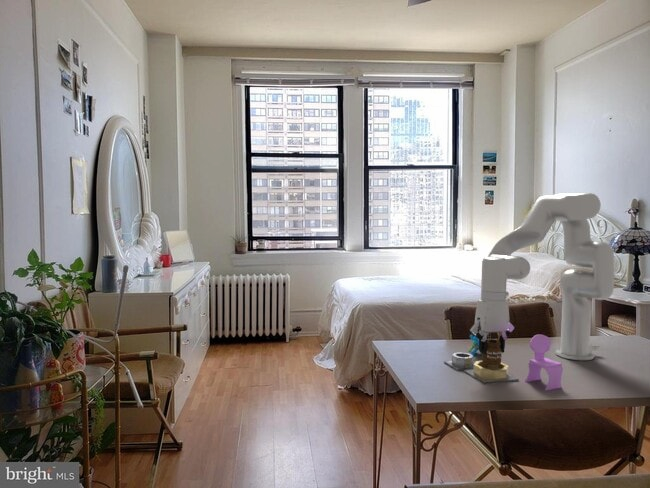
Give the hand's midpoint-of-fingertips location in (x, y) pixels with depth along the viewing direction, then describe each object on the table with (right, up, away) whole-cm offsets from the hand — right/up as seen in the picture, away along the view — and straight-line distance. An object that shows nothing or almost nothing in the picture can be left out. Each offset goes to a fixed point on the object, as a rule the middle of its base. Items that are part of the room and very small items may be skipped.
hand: (491, 351), depth 165 cm
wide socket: (0, -8, +1) cm, 8 cm away
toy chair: (+14, -9, -7) cm, 18 cm away
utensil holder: (0, -4, 0) cm, 4 cm away
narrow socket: (-6, -7, +11) cm, 15 cm away
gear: (+4, -7, +25) cm, 26 cm away
